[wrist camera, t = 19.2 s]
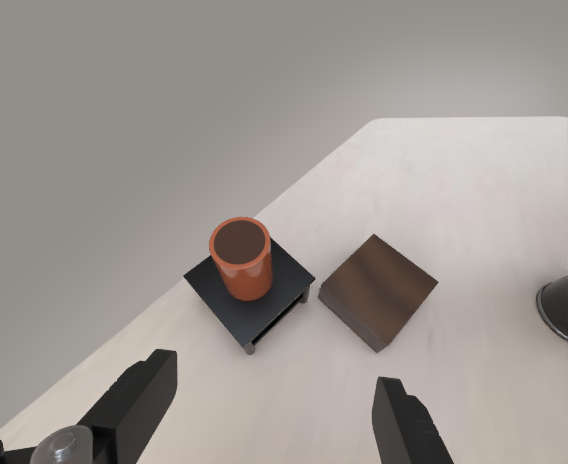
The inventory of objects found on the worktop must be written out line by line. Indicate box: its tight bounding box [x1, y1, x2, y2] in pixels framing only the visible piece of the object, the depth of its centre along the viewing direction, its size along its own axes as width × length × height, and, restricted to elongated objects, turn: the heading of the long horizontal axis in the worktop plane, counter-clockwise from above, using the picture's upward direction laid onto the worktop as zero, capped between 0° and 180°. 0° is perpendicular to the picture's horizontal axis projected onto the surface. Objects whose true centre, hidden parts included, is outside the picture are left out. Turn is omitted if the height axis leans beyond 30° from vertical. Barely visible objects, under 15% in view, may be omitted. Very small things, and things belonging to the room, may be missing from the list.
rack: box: [184, 237, 315, 355], centre depth 40 cm, size 12×12×8 cm
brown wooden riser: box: [318, 234, 439, 353], centre depth 41 cm, size 12×11×5 cm
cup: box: [209, 217, 273, 301], centre depth 33 cm, size 6×6×9 cm
